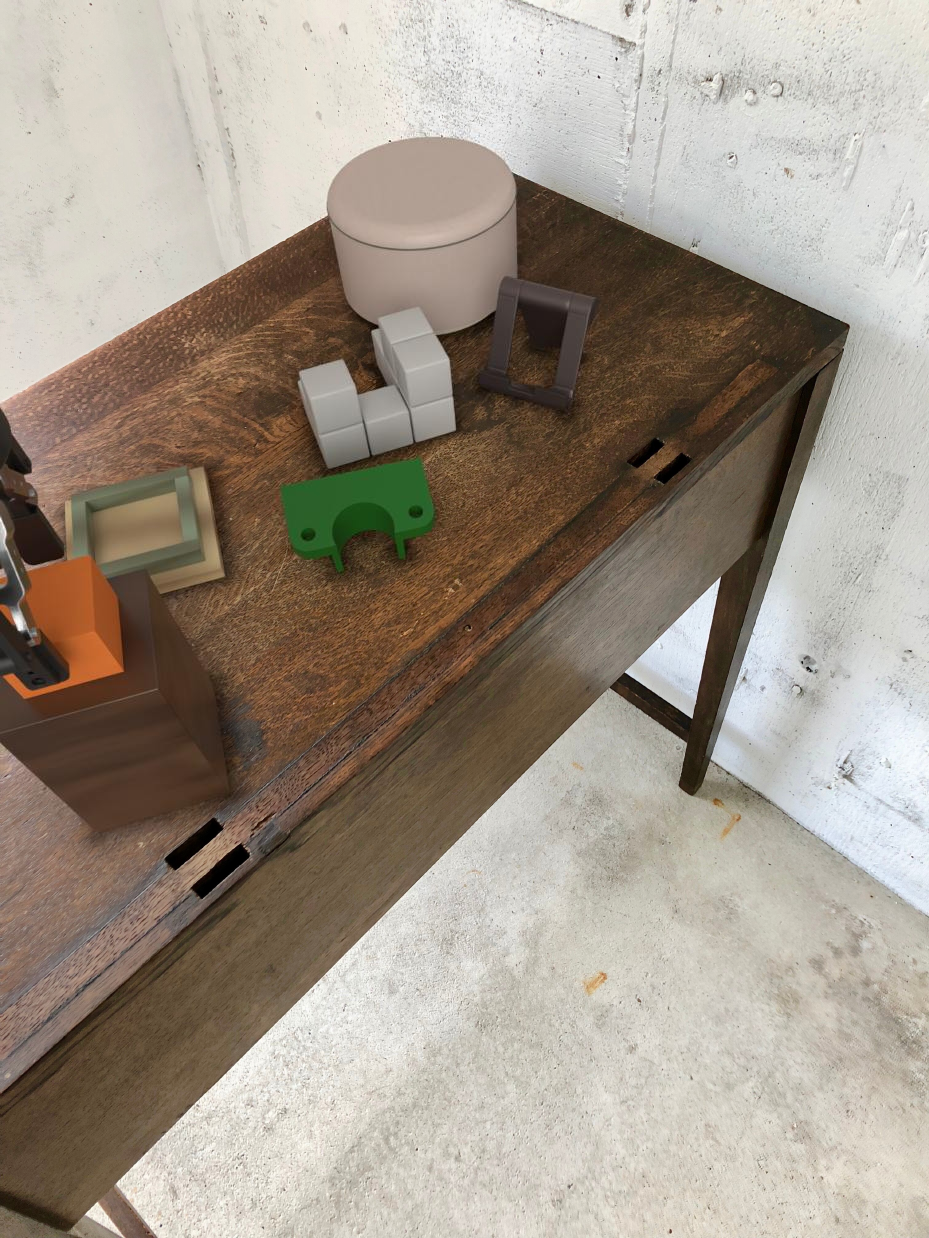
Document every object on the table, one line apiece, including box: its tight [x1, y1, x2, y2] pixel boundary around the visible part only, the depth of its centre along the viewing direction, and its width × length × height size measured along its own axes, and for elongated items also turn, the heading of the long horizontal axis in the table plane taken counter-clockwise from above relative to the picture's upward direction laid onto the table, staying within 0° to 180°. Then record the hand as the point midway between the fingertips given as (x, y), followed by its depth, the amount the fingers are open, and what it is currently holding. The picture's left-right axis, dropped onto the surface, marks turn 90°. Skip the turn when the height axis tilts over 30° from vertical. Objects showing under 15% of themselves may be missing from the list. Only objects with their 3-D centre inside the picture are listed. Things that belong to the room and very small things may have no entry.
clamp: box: [279, 457, 436, 573], centre depth 69 cm, size 12×6×9 cm, turn 97°
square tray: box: [64, 465, 226, 595], centre depth 72 cm, size 12×12×3 cm
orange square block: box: [0, 555, 124, 699], centre depth 48 cm, size 6×6×4 cm
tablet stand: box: [478, 276, 599, 413], centre depth 78 cm, size 9×8×8 cm
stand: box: [0, 569, 231, 834], centre depth 56 cm, size 9×9×14 cm
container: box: [326, 136, 518, 336], centre depth 86 cm, size 18×18×12 cm
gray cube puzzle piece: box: [297, 307, 457, 470], centre depth 78 cm, size 12×12×8 cm
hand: (49, 615), depth 48 cm, fingers open, 8 cm apart
